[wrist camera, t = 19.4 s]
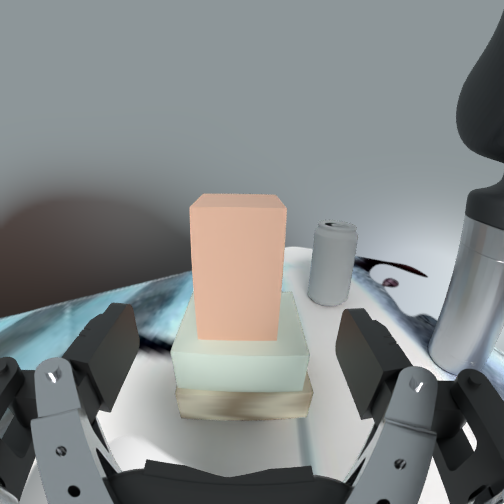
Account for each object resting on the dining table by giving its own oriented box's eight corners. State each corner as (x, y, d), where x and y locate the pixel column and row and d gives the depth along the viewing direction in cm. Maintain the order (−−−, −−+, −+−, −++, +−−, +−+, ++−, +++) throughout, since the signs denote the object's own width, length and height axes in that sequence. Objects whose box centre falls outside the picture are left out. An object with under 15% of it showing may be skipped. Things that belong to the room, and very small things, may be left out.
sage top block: (288, 324, 29) (291, 291, 28) (302, 391, 20) (309, 355, 19) (196, 321, 29) (193, 289, 28) (177, 387, 20) (170, 351, 18)
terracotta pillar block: (270, 301, 26) (275, 194, 23) (276, 340, 20) (286, 208, 17) (206, 301, 26) (203, 193, 22) (197, 339, 20) (189, 207, 17)
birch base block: (288, 347, 31) (291, 320, 30) (305, 419, 21) (313, 392, 20) (195, 347, 31) (192, 319, 30) (181, 420, 21) (174, 393, 19)
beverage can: (314, 286, 46) (321, 216, 42) (350, 294, 43) (361, 223, 39) (301, 302, 41) (309, 224, 37) (342, 312, 38) (356, 232, 34)
